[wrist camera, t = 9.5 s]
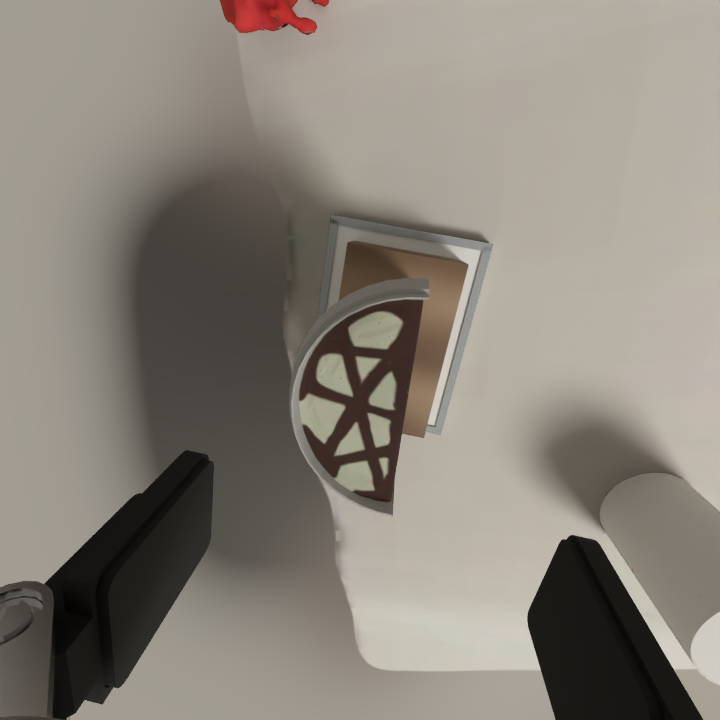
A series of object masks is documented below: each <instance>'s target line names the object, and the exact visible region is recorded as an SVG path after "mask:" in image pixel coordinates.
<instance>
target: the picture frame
mask: <svg viewBox="0 0 720 720" xmlns="http://www.w3.org/2000/svg"><path fill="white" fill-rule="evenodd" d="M351 241H360V242H366V243H371V244H377V245H382V246H387V247H393V248H398V249H404V250H409V251H415V252H420V253H426V254H431V255H436V256H442V257H447V258H453V259H458V260H461V261H463V262H465V263H467V264H468V265H469V266H468V270H467V274H466V278H465V281H464V285H463V289H462V293H461V297H460V301H459V305H458V308H457V312H456V316H455V320H454V324H453V328H452V331H451V335H450V339H449V343H448V347H447V351H446V354H445V358H444V362H443V366H442V370H441V374H440V378H439V381H438V385H437V389H436V393H435V397H434V401H433V404H432V408H431V412H430V416H429V420H428V424H427V428H426V431H425V432H429V433H434V434H439V435H441V432H442V428H443V424H444V421H445V417H446V413H447V410H448V406H449V403H450V399H451V395H452V392H453V388H454V385H455V381H456V377H457V374H458V370H459V366H460V363H461V359H462V356H463V352H464V348H465V345H466V341H467V337H468V334H469V330H470V327H471V323H472V319H473V316H474V312H475V309H476V305H477V301H478V298H479V294H480V290H481V287H482V283H483V280H484V276H485V272H486V269H487V265H488V261H489V258H490V254H491V251H492V247H493V244H490V243H485V242H479V241H474V240H468V239H463V238H457V237H452V236H446V235H441V234H435V233H430V232H424V231H419V230H413V229H408V228H402V227H397V226H391V225H385V224H380V223H374V222H369V221H363V220H358V219H352V218H347V217H341V216H336V215H331V219H330V226H329V234H328V241H327V249H326V256H325V263H324V271H323V278H322V286H321V293H320V300H319V308H318V315H317V319H318V318H319V317H320V316H321V315H323V314H324V313H325V312H326V311H327V310H328V309H329V308H330V307H331V306H332V305H334V304H335V303H337V302H338V300H339V294H340V287H341V281H342V274H343V268H344V261H345V255H346V248H347V242H351Z"/></svg>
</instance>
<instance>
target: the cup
mask: <svg viewBox="0 0 720 720" xmlns="http://www.w3.org/2000/svg"><path fill="white" fill-rule="evenodd" d="M600 522H601V525H602V527H603V529H604V530H605V532H606V533H607V535H608V536H609V538H610V539H611V541H612V542H613V544H614V545H615V547H616V548H617V550H618V551H619V553H620V554H621V556H622V557H623V559H624V560H625V562H626V563H627V565H628V566H629V568H630V569H631V571H632V572H633V574H634V575H635V577H636V578H637V580H638V581H639V583H640V584H641V586H642V587H643V589H644V590H645V592H646V593H647V595H648V596H649V598H650V599H651V601H652V602H653V604H654V605H655V607H656V609H657V610H658V612H659V613H660V615H661V616H662V618H663V619H664V621H665V622H666V624H667V625H668V627H669V628H670V630H671V631H672V633H673V634H674V636H675V637H676V639H677V640H678V642H679V643H680V645H681V646H682V648H683V649H684V651H685V652H686V654H687V655H688V657H689V658H690V660H691V661H692V663H693V664H694V666H695V667H696V669H697V670H698V671H699V672H700V673H701V674H702V675H703V676H704V677H705V678H707V679H708V680H710V681H711V682H713V683H715V684H718V685H720V512H719V511H718V510H717V509H716V508H715V507H714V506H713V505H712V504H710V503H709V502H708V501H707V500H706V499H705V498H704V497H703V496H702V495H700V494H699V493H698V492H697V491H696V490H695V489H694V488H693V487H692V486H690V485H689V484H688V483H687V482H686V481H684V480H683V479H681V478H679V477H677V476H674V475H671V474H666V473H645V474H640V475H636V476H633V477H630V478H628V479H626V480H624V481H622V482H621V483H619V484H618V485H616V486H615V487H614V488H613V489H611V490H610V492H609V493H608V494H607V495H606V497H605V498H604V500H603V502H602V504H601V507H600Z"/></svg>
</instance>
